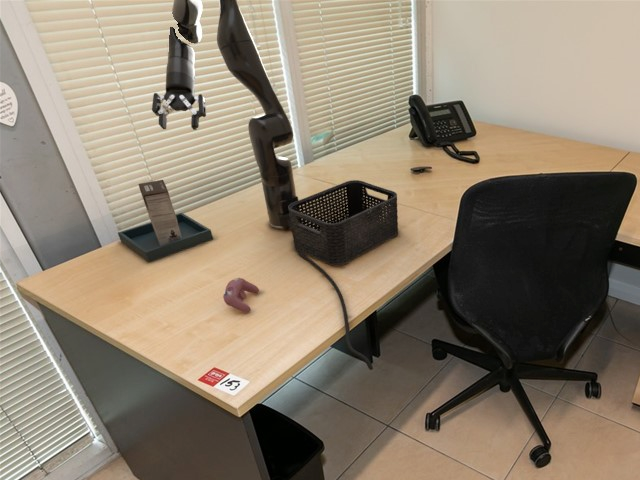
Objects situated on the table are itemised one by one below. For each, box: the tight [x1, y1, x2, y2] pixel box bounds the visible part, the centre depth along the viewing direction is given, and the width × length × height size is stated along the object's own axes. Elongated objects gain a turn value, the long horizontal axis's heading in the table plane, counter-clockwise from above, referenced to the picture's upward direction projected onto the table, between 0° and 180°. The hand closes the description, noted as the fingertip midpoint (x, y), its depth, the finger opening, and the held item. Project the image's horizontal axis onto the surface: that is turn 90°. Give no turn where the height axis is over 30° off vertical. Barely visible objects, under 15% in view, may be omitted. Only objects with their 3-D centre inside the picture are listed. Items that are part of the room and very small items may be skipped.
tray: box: [117, 212, 214, 263], centre depth 150 cm, size 17×19×3 cm
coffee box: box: [138, 179, 182, 246], centre depth 146 cm, size 9×6×16 cm
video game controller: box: [222, 277, 260, 314], centre depth 127 cm, size 10×5×7 cm, turn 5°
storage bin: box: [288, 179, 399, 267], centre depth 153 cm, size 29×19×13 cm
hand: (178, 128), depth 153 cm, fingers open, 8 cm apart
